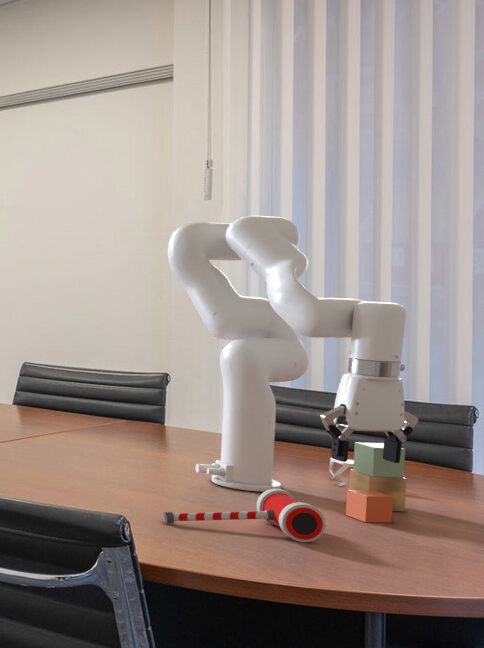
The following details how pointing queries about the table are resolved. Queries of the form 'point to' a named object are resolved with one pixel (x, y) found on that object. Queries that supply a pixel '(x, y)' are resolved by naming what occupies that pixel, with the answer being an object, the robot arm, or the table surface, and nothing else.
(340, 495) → the table surface
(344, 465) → the origami figure
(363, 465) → the middle block
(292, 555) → the table surface
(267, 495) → the toy hammer
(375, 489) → the base block
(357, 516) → the top block
